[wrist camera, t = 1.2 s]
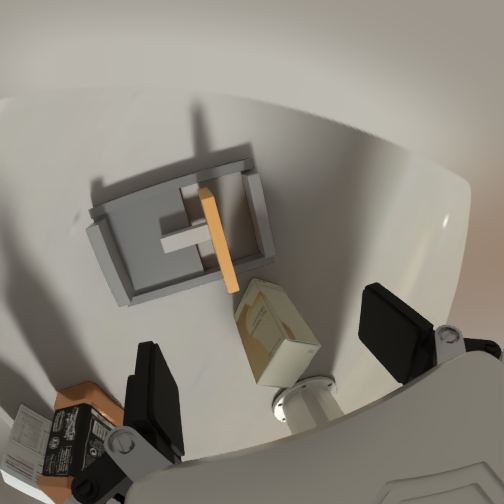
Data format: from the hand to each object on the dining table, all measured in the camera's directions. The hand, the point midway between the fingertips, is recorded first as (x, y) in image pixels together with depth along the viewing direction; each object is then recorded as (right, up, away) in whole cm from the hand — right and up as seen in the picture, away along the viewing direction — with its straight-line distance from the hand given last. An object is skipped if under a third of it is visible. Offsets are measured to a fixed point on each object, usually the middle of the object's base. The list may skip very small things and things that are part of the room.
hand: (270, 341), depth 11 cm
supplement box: (-45, -34, +24) cm, 62 cm away
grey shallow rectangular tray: (-8, +6, +18) cm, 21 cm away
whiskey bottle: (-28, -22, +24) cm, 43 cm away
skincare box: (0, -3, +24) cm, 24 cm away
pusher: (-7, +6, +17) cm, 20 cm away
